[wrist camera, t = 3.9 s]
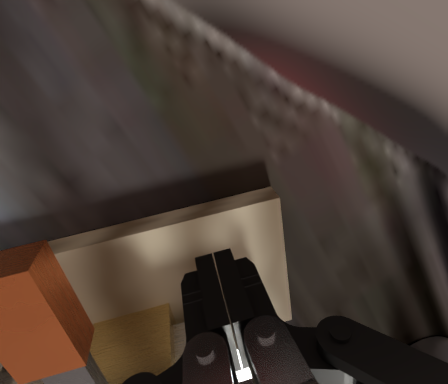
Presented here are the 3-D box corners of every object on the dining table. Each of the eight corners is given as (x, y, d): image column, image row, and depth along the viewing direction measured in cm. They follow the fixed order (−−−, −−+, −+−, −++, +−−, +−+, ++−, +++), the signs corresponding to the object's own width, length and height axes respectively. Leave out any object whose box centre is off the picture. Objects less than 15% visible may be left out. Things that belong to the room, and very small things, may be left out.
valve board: (270, 186, 24) (279, 197, 22) (283, 303, 30) (291, 319, 28) (-80, 273, 21) (-102, 293, 20) (10, 381, 27) (0, 404, 26)
